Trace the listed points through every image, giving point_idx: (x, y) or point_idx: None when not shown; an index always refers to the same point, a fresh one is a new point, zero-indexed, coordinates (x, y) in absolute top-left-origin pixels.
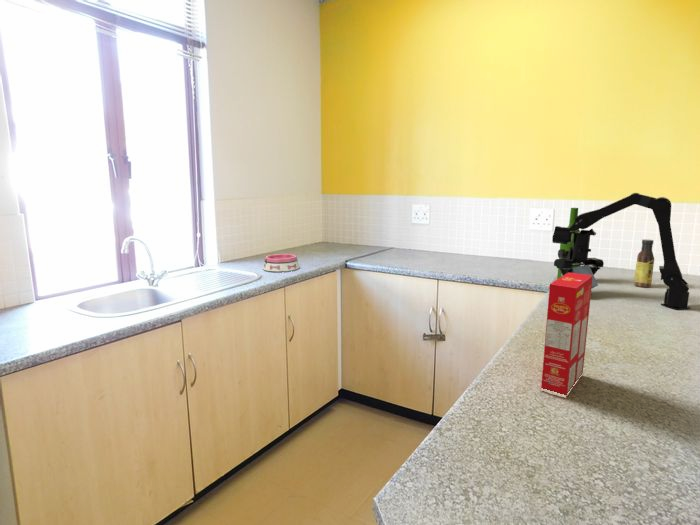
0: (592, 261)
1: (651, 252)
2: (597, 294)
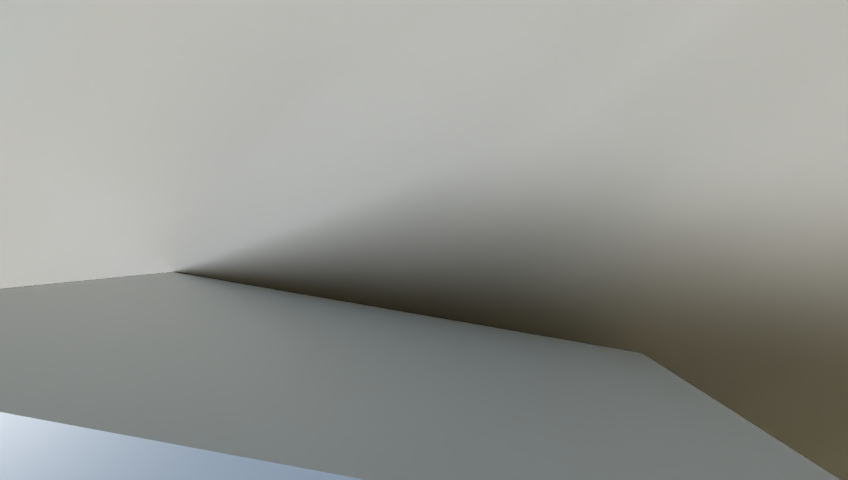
0: None
1: None
2: (796, 445)
